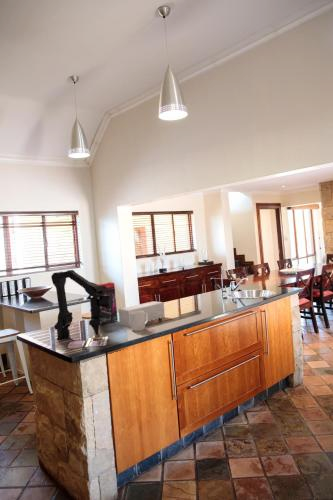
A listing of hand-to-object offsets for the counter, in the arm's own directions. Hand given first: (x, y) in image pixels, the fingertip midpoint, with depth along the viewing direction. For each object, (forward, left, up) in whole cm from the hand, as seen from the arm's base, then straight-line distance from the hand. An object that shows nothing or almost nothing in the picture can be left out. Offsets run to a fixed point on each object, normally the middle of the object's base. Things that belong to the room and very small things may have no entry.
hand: (97, 333), depth 215 cm
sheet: (0, -5, -3) cm, 6 cm away
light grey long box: (+26, +41, -4) cm, 49 cm away
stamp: (0, 0, -3) cm, 3 cm away
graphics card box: (+1, +43, -4) cm, 43 cm away
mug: (+25, +16, -4) cm, 29 cm away
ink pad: (-10, -9, -3) cm, 14 cm away
